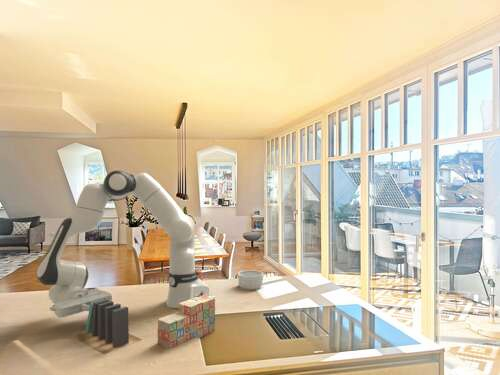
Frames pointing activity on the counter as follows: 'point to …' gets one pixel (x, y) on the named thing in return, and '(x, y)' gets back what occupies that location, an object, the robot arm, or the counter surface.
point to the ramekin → (250, 279)
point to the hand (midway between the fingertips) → (94, 308)
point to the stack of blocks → (187, 321)
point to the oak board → (101, 342)
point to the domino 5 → (120, 327)
